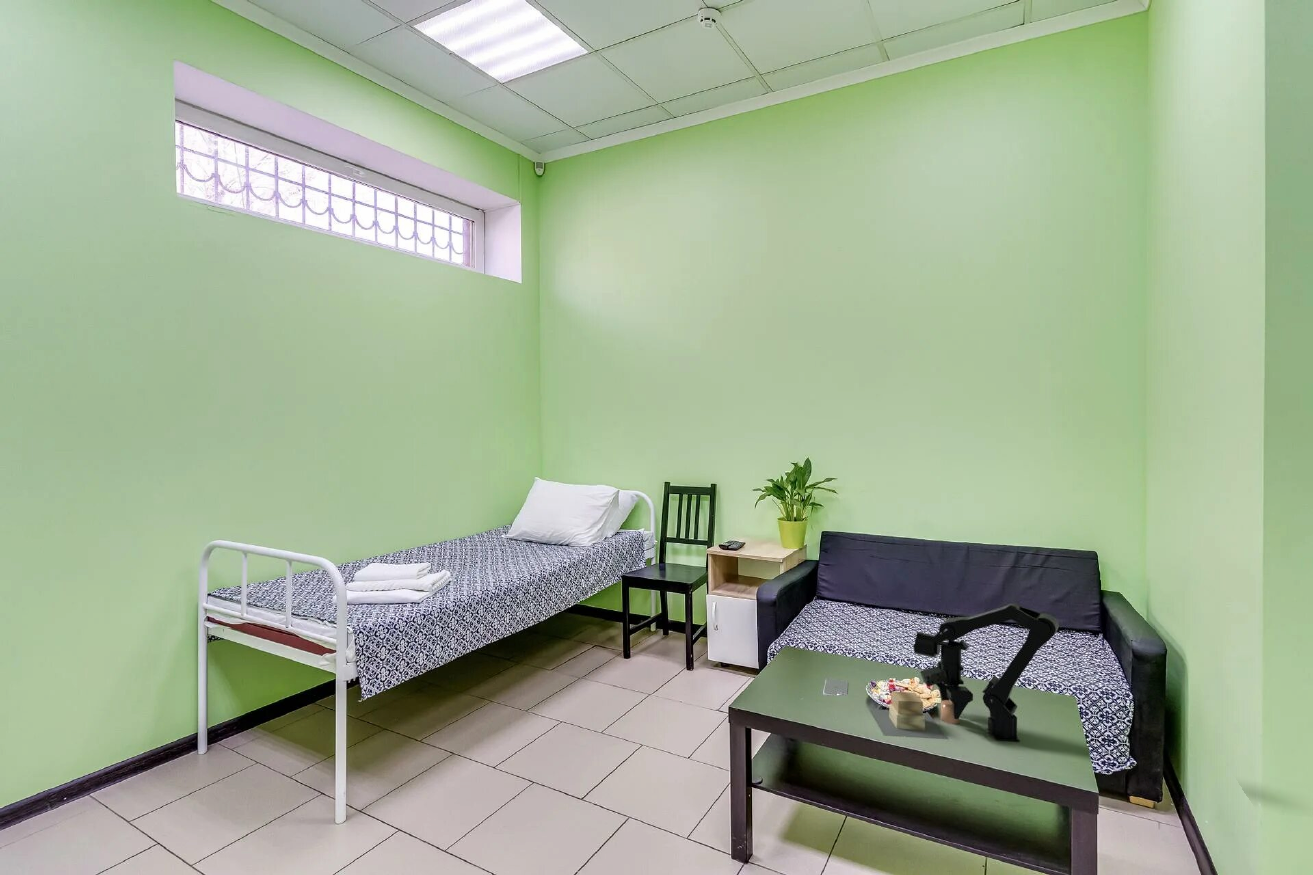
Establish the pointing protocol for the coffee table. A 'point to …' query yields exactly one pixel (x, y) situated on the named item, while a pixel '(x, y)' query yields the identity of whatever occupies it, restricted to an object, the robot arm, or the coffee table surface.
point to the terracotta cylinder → (948, 712)
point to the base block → (906, 720)
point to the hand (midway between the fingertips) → (950, 712)
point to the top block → (907, 703)
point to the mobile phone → (835, 687)
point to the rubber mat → (890, 729)
